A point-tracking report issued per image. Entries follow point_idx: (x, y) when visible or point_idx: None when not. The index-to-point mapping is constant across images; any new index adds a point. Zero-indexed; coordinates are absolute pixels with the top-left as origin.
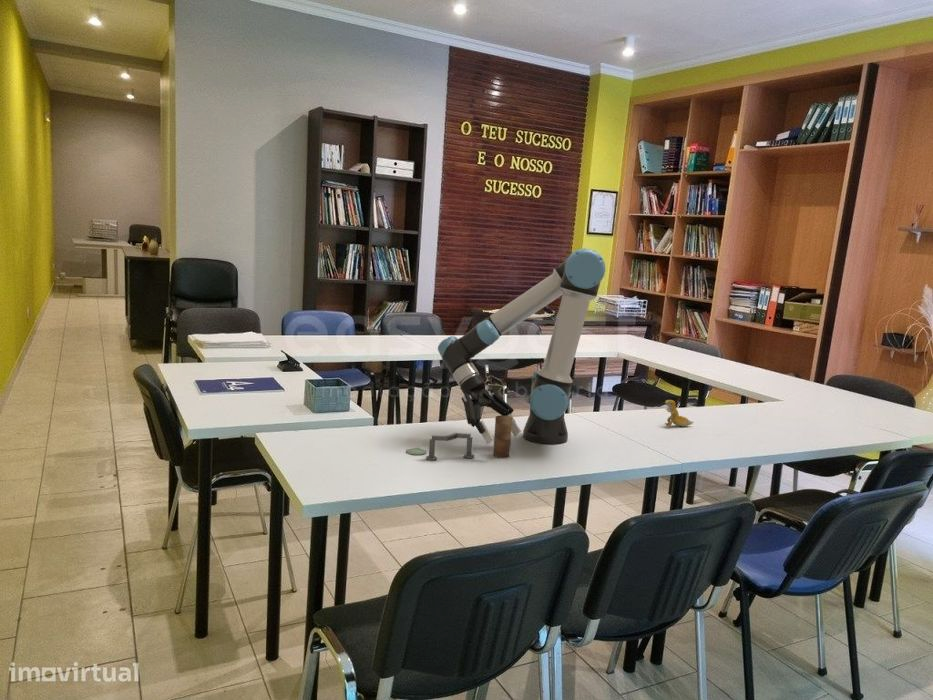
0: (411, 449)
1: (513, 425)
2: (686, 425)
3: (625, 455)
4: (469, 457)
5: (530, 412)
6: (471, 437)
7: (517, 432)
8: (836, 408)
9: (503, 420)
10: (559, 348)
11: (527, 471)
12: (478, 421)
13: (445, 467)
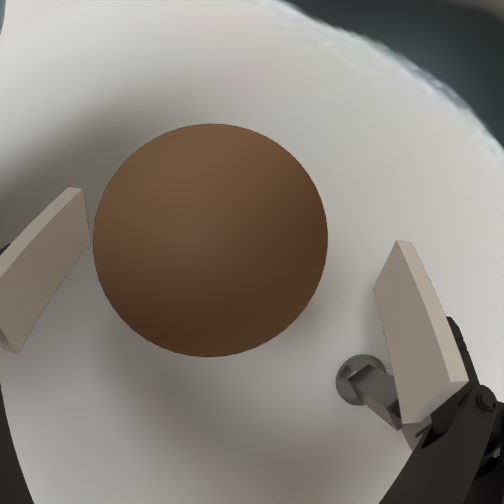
0: None
1: (50, 242)
2: None
3: (16, 14)
4: (381, 363)
5: None
6: (392, 408)
7: (81, 209)
8: None
9: (310, 186)
10: None
11: (346, 90)
12: (481, 390)
13: (496, 352)
